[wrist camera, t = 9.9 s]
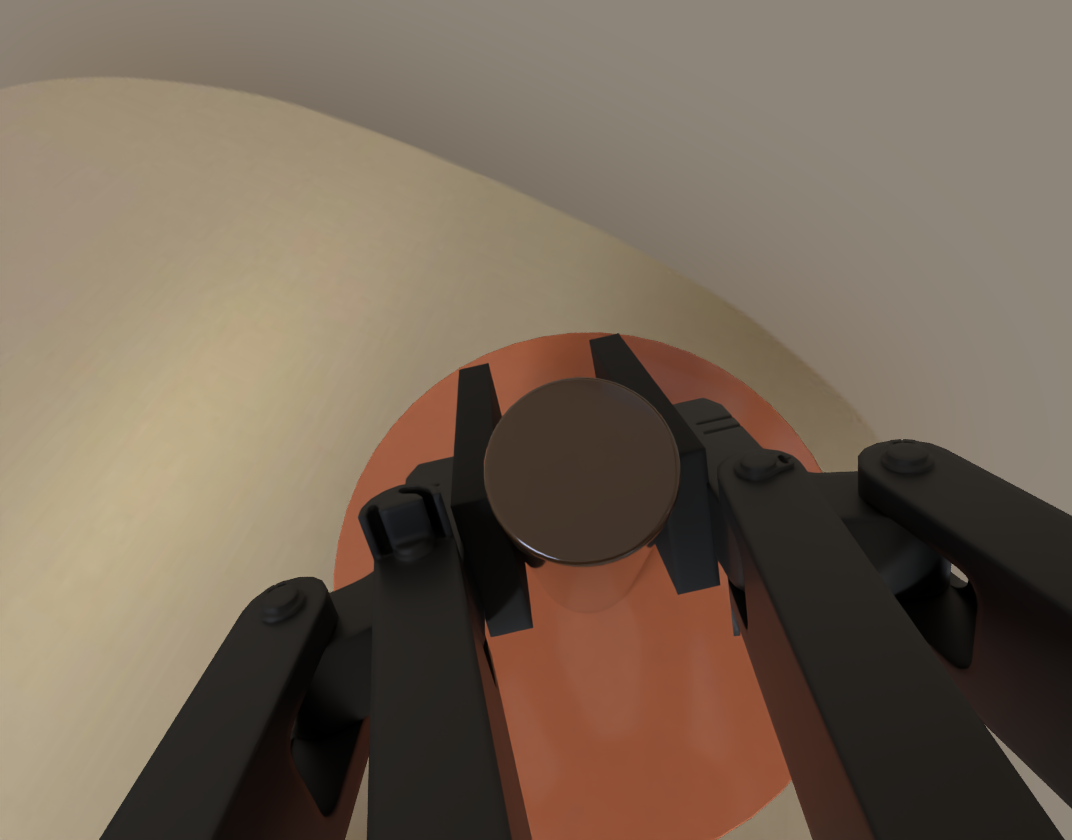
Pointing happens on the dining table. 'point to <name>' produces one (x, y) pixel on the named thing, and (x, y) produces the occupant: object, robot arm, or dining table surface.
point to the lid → (604, 595)
